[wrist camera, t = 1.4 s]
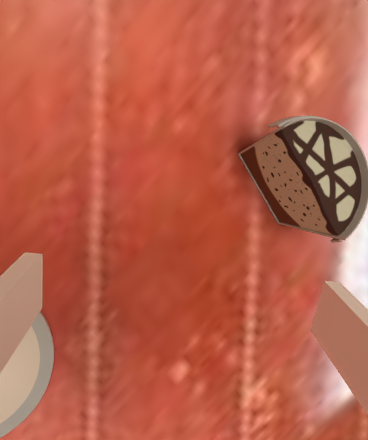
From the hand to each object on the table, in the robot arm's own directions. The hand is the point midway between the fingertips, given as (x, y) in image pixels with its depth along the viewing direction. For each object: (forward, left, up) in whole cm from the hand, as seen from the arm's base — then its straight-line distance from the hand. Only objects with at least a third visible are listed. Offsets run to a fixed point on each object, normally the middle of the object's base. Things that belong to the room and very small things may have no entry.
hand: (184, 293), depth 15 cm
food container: (-12, +13, -19) cm, 27 cm away
